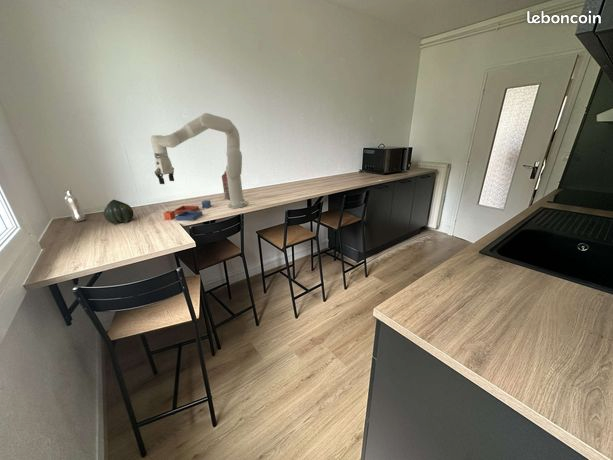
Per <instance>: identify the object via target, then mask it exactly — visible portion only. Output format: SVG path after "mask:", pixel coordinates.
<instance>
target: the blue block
mask: <svg viewBox="0 0 613 460" xmlns="http://www.w3.org/2000/svg"><path fill="white" fill-rule="evenodd" d="M201 207H202V209H210V208H211V207H212V204H211V200H210V199H209V200H207V199H204V200H202V201H201Z"/></svg>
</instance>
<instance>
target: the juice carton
mask: <svg viewBox="0 0 613 460" xmlns="http://www.w3.org/2000/svg"><path fill="white" fill-rule="evenodd" d="M221 181H222V188H223V195H224V199H226V200H229V201H230V195H229V188H228V180H227V174H226V170H225V171H224V173H223V174H222V175H221Z"/></svg>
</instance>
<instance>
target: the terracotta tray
mask: <svg viewBox="0 0 613 460" xmlns="http://www.w3.org/2000/svg"><path fill="white" fill-rule="evenodd" d="M173 211H174V213H175V215H179V214H181V213H183V212H184V211H200V206H199V205H181V206H179V207H178V208H175V209H173Z"/></svg>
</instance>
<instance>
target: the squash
mask: <svg viewBox="0 0 613 460" xmlns="http://www.w3.org/2000/svg"><path fill="white" fill-rule="evenodd" d="M104 207H105V208H104V210H103V216H104V218H105V220H106V221H107V222H108V223H110V224H111V225H117V224H120V223H130V221H131V220H132V219H133V218H134V210H133V208H132V206H131V205H129V204H127V203H125V202H123V201H119V200H117V199H112V200H110V201H109V203H108V204H106V205H105V206H104Z"/></svg>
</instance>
